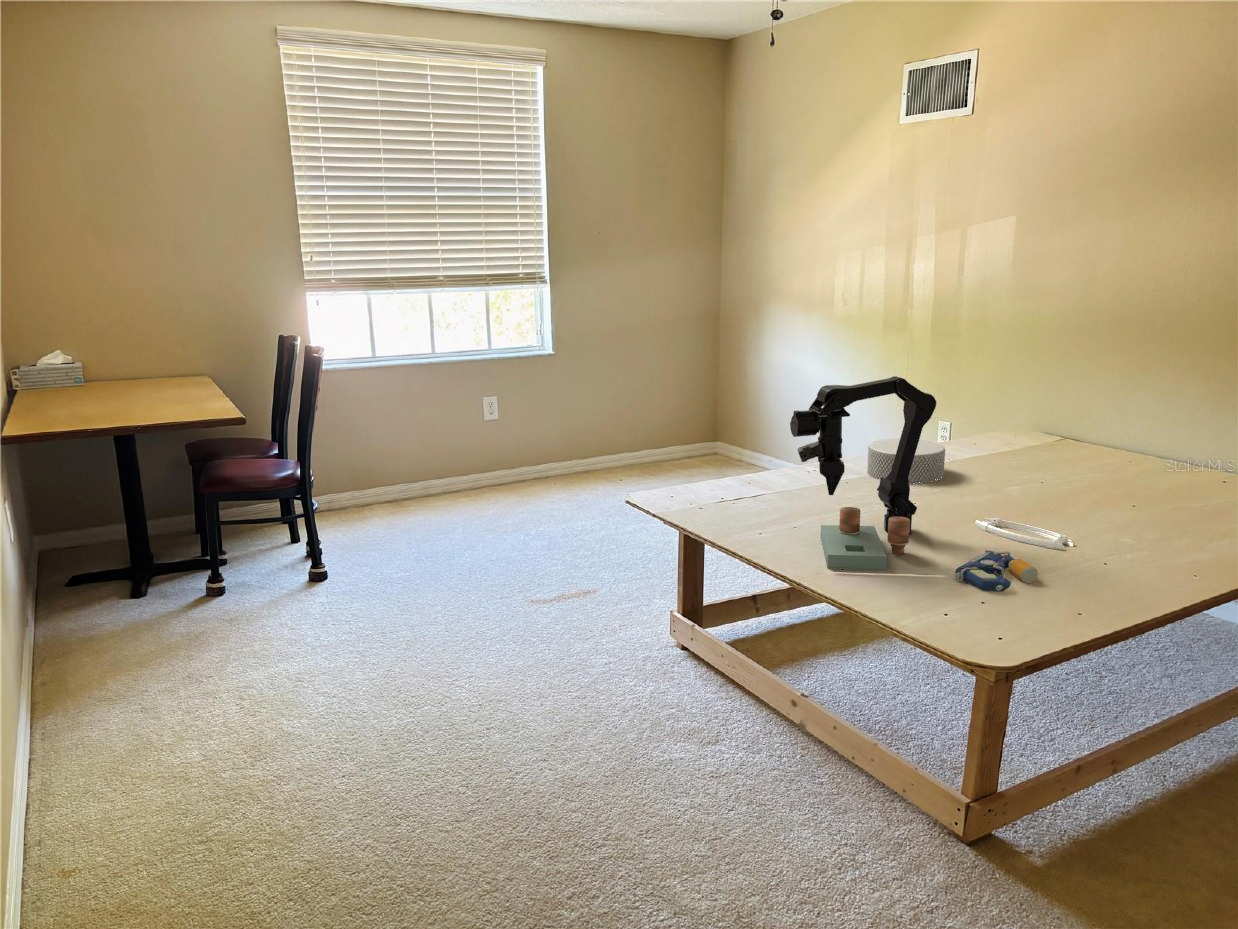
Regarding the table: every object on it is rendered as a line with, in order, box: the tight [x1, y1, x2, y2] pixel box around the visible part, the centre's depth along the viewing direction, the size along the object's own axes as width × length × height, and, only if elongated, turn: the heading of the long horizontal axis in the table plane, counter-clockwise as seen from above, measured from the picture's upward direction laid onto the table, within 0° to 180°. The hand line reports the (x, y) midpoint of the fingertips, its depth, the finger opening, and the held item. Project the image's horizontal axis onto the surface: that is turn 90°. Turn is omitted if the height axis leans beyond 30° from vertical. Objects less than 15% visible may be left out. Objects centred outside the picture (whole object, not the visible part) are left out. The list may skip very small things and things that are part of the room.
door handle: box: [974, 517, 1075, 551], centre depth 225 cm, size 3×10×25 cm
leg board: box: [820, 524, 888, 571], centre depth 215 cm, size 14×23×4 cm, turn 171°
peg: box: [886, 517, 910, 556], centre depth 213 cm, size 5×5×10 cm
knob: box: [866, 437, 946, 484], centre depth 288 cm, size 25×10×25 cm
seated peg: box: [838, 506, 861, 535], centre depth 221 cm, size 5×5×10 cm
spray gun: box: [953, 549, 1039, 593], centre depth 197 cm, size 21×4×15 cm
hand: (830, 490), depth 225 cm, fingers open, 9 cm apart
